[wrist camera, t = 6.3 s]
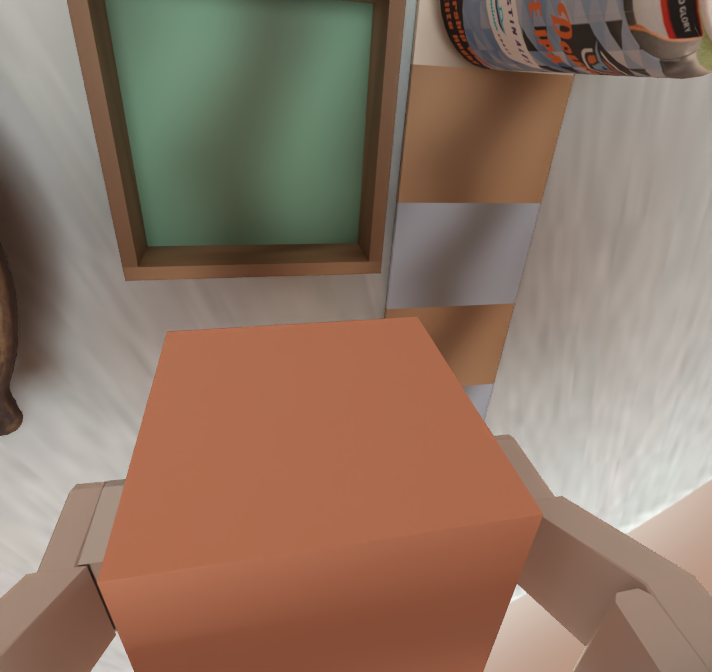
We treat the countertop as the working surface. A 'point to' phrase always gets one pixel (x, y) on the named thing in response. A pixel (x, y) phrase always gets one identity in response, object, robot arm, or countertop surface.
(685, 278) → the countertop surface
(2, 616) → the robot arm
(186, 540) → the cube
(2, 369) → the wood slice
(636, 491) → the countertop surface
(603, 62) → the beverage can
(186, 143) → the tray
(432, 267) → the board
